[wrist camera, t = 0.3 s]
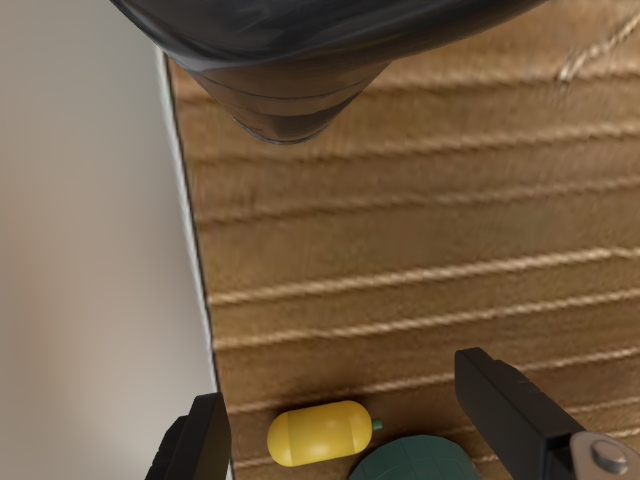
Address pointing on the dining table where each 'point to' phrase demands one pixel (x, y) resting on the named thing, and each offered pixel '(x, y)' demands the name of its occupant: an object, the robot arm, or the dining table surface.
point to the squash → (320, 433)
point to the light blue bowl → (417, 461)
